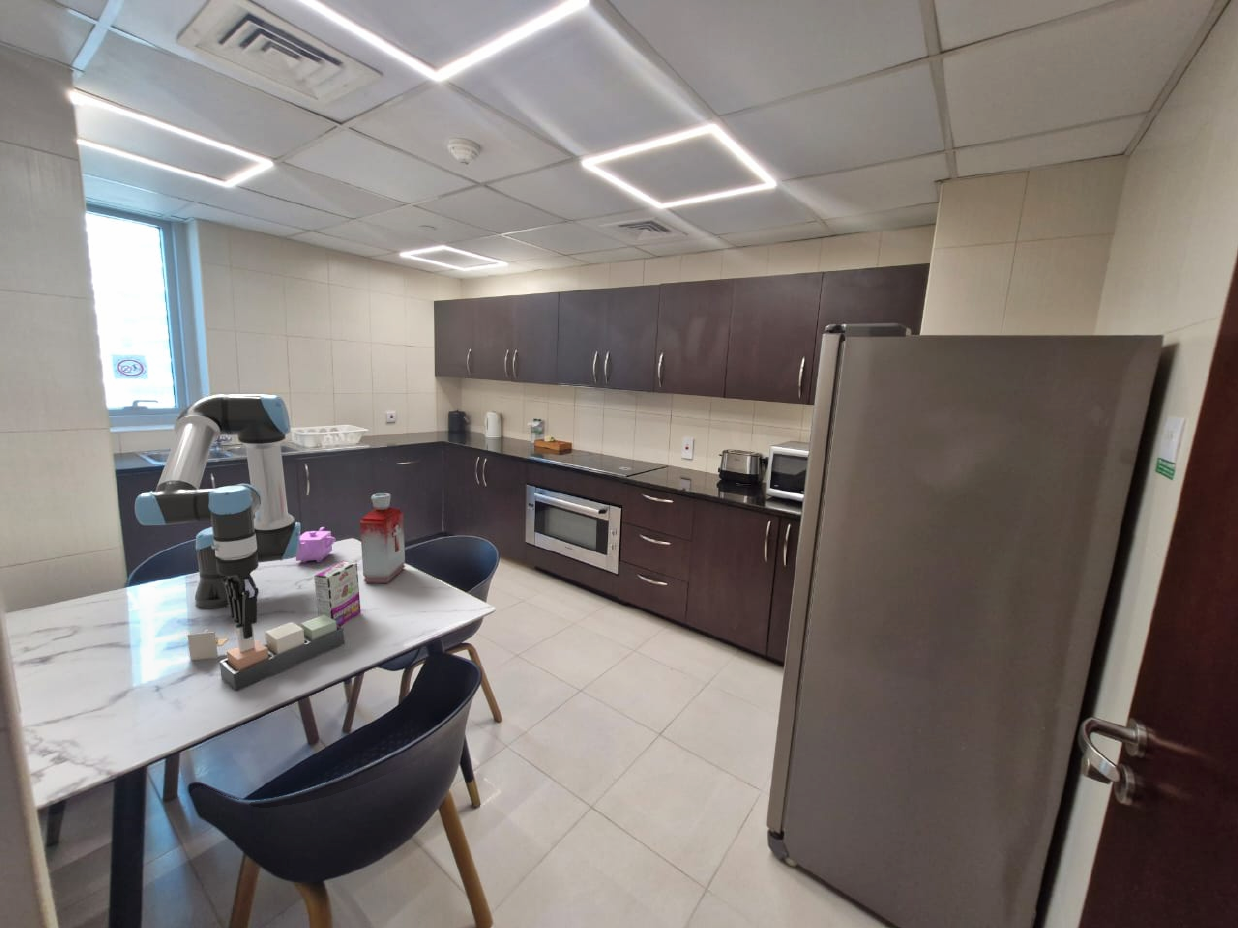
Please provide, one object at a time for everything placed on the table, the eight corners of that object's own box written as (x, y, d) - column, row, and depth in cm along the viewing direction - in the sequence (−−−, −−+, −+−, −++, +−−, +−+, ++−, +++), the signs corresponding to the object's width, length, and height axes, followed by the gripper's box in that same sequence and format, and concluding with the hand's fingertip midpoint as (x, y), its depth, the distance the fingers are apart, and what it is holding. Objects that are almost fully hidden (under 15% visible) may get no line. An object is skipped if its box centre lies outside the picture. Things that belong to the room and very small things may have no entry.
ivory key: (267, 650, 122) (265, 631, 121) (293, 639, 127) (291, 621, 126) (278, 658, 118) (276, 639, 118) (304, 647, 123) (303, 629, 123)
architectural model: (197, 654, 125) (193, 627, 123) (229, 650, 127) (226, 624, 125) (190, 662, 122) (186, 634, 120) (223, 658, 124) (220, 631, 122)
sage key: (302, 640, 129) (300, 623, 128) (325, 631, 134) (324, 614, 133) (313, 648, 125) (312, 630, 124) (337, 638, 130) (336, 621, 129)
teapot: (287, 558, 186) (284, 530, 184) (325, 549, 197) (323, 523, 195) (303, 569, 177) (300, 540, 175) (341, 559, 188) (340, 532, 186)
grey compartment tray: (221, 678, 115) (219, 661, 114) (329, 634, 135) (328, 619, 135) (236, 691, 111) (233, 673, 110) (344, 643, 131) (343, 628, 130)
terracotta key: (229, 670, 115) (226, 650, 114) (258, 658, 120) (256, 639, 119) (240, 679, 112) (237, 659, 111) (269, 666, 117) (267, 647, 116)
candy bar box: (346, 610, 149) (343, 560, 146) (361, 613, 148) (358, 562, 145) (317, 629, 138) (313, 575, 135) (332, 631, 137) (328, 577, 134)
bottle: (389, 584, 167) (385, 500, 162) (360, 583, 167) (355, 499, 162) (408, 568, 181) (405, 490, 176) (381, 567, 182) (376, 489, 176)
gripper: (204, 552, 111) (216, 646, 115) (228, 566, 104) (240, 665, 109) (243, 543, 117) (253, 633, 122) (268, 556, 111) (277, 650, 115)
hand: (247, 648), depth 115 cm, fingers closed
